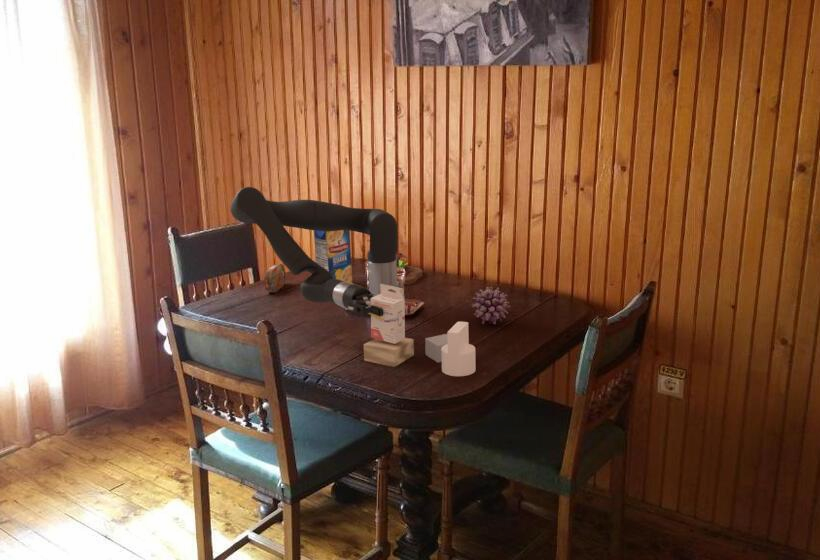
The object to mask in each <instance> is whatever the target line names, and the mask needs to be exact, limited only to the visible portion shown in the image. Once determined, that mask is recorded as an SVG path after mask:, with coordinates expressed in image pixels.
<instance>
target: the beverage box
mask: <svg viewBox="0 0 820 560" xmlns="http://www.w3.org/2000/svg"><path fill="white" fill-rule="evenodd" d="M350 233H351V231H350V230H339V231H315V230H313V239H314V241H313V242H314V253H315V256H314V257H315V262H316V263H317V264H319V265H320V266H321V267H323V268H325V269H326V270H327V271H329V272H330V273H331V274H332V276H333V278H334V279H338V280H341V281H344V282H350V283H353V273H352V272H353V271H352V270H353V269H352V251H351V234H350Z"/></svg>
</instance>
